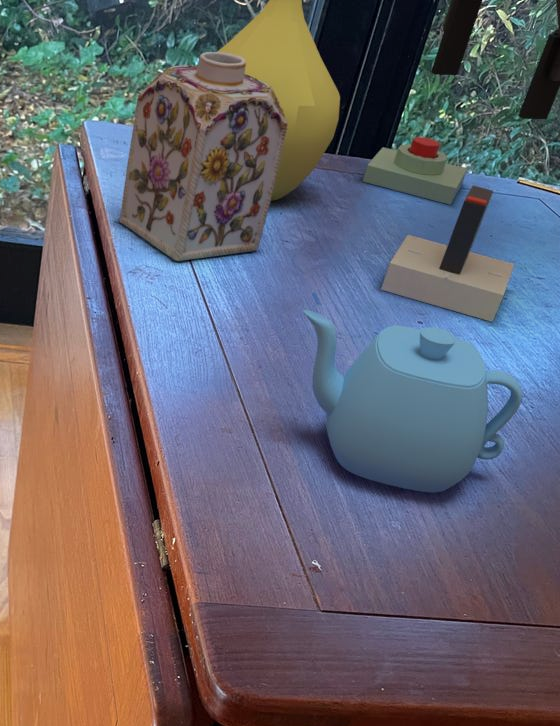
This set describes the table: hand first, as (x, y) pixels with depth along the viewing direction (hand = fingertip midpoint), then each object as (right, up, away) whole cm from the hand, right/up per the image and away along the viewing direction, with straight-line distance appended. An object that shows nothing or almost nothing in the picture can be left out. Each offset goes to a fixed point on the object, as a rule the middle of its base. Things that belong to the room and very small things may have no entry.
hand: (485, 95), depth 95 cm
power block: (+7, +10, +41) cm, 43 cm away
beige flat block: (+1, -13, +14) cm, 20 cm away
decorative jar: (-27, -7, +17) cm, 32 cm away
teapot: (-14, -37, -13) cm, 42 cm away
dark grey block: (+2, -11, +12) cm, 17 cm away
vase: (-18, +5, +31) cm, 37 cm away
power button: (+7, +13, +39) cm, 41 cm away
